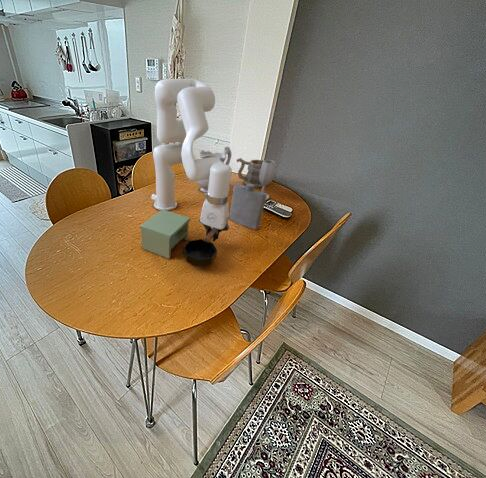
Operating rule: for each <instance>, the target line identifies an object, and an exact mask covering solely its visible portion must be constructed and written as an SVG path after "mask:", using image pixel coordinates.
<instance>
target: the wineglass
mask: <svg viewBox="0 0 486 478" xmlns="http://www.w3.org/2000/svg"><path fill="white" fill-rule="evenodd" d="M263 161H264V162H263V164H262V166H261V169H260V172H259V182H260V183H261V184H262V185H263V187H261V192H264V193H265V189H266V186H268V185H269V184H271V183H272V182H273V180H274V177H275V174H276V161H275V160H272V159H265V160H263ZM268 200H270V195H269V194H267V196H266V200H265V201H268Z"/></svg>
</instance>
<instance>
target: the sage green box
mask: <svg viewBox="0 0 486 478" xmlns="http://www.w3.org/2000/svg"><path fill="white" fill-rule="evenodd" d="M190 221H191V217H189V216H185V215H183V214H179V213H176V212H172V211H170V210H168V211H166V210H159V211H158V212H157V213H155V214H154V215H152V216H150V217H149V218H148V219H147V220H146V221H144V222H143V223H142V224H140V225H139V229H140V232H141V234H140V235H141V246H142V250H145V251H148V252H150V253H153V254H155V255H158V256H160V257H164V258H166V259H170V258H171V257H172V254H171V253H172V250H173V249H174V248H175V247H176V245H178V244H179V242H181V241H182V240H185V241H189V230H190V228H189V227H190Z"/></svg>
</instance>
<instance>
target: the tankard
mask: <svg viewBox="0 0 486 478" xmlns="http://www.w3.org/2000/svg"><path fill="white" fill-rule="evenodd" d="M235 161H236V163H239V162H240V164H241V165H240V167H239V169H238V171H237V176H238V179H240V180H244V181H243V184H244V185H246V184H248V183H250V184H254V188H255V189H256V188H257V189H258V188H262V187H263V185H262V184H261V183H260V182H259V172H260V169H261V166H262V164H263V162H264V160H263V159H251V160H250V161H246V160H245V159H243V158H242V157H240V158H237V159H236V160H235ZM245 165H246V166H247V173H246V175H243V174H242V172H243V170H244V169H245Z"/></svg>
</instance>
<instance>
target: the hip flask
mask: <svg viewBox="0 0 486 478" xmlns="http://www.w3.org/2000/svg"><path fill="white" fill-rule="evenodd" d="M254 188H255V187H254V184H250V183H248V184H245V185H242V184H239V183H236V184H233V191H232V196H231V197H232V198H231V205H230V209H229V216H228V220H231V221H233V222H234V223H237V224H239V225H241V226H243V227H246V228H249V229H252V230H255V231H256V230H259V229H260V224H261V221H262V216H263V212H264V207H265V204H266V201H267V200H266V196H267V195H268V194H267V192H265V191H264V192H262V191H258V190H256V189H254Z"/></svg>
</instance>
